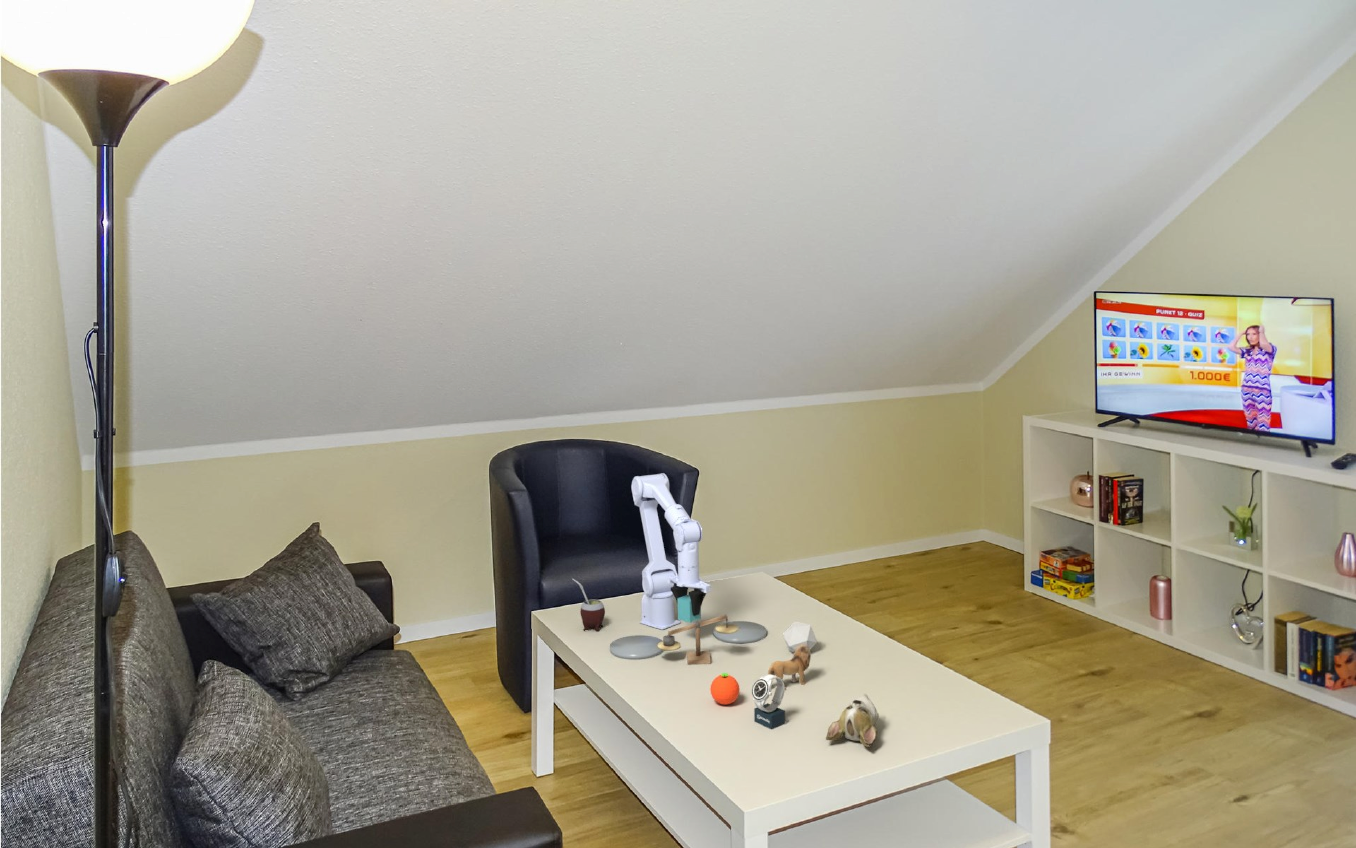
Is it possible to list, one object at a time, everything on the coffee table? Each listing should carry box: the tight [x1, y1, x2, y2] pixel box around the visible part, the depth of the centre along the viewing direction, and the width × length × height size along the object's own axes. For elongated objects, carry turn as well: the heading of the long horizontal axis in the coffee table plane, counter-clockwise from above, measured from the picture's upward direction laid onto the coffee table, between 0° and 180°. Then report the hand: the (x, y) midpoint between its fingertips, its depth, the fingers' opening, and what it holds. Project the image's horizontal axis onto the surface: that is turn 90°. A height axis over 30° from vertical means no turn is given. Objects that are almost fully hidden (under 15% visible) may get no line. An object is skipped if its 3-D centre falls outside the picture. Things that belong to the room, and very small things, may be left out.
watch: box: [751, 673, 786, 730], centre depth 230 cm, size 6×8×11 cm
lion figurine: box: [767, 645, 812, 691], centre depth 251 cm, size 15×5×9 cm, turn 128°
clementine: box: [709, 672, 740, 705], centre depth 242 cm, size 8×7×7 cm
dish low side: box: [609, 634, 665, 660], centre depth 278 cm, size 15×15×1 cm
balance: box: [658, 614, 738, 665], centre depth 269 cm, size 21×6×12 cm, turn 92°
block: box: [677, 593, 702, 624], centre depth 281 cm, size 4×4×6 cm
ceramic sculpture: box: [825, 693, 880, 748], centre depth 223 cm, size 11×9×15 cm
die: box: [782, 620, 818, 654], centre depth 274 cm, size 8×9×10 cm
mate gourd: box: [571, 578, 606, 633], centre depth 295 cm, size 8×8×15 cm
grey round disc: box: [712, 620, 767, 645], centre depth 288 cm, size 15×15×1 cm
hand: (689, 612), depth 281 cm, fingers closed on block, 4 cm apart
